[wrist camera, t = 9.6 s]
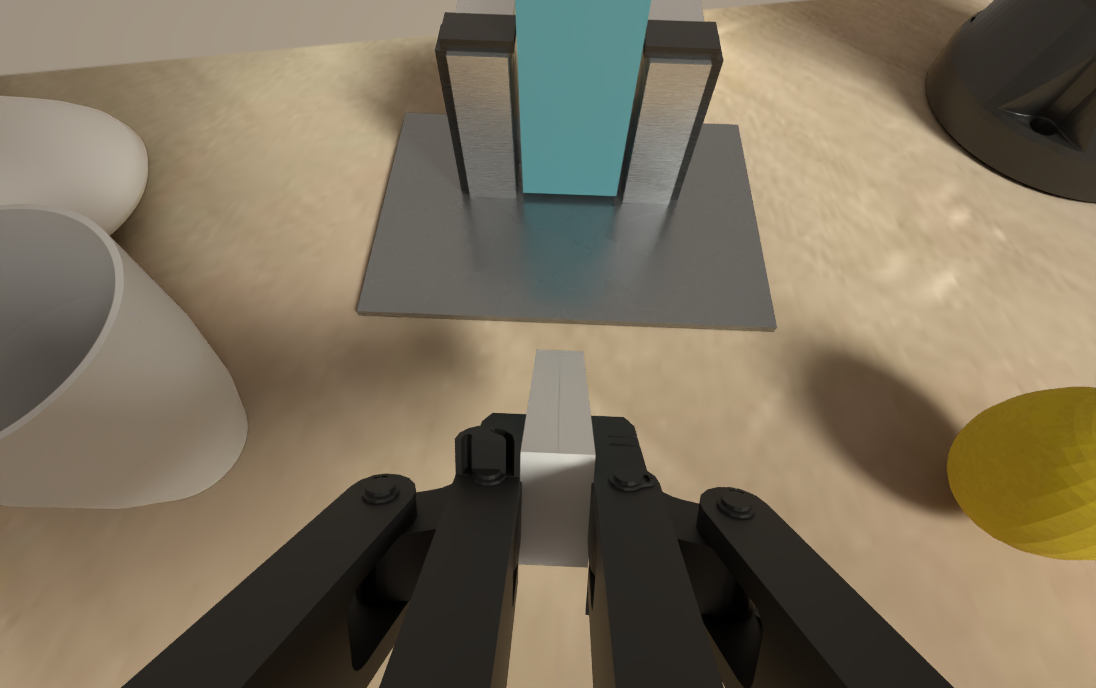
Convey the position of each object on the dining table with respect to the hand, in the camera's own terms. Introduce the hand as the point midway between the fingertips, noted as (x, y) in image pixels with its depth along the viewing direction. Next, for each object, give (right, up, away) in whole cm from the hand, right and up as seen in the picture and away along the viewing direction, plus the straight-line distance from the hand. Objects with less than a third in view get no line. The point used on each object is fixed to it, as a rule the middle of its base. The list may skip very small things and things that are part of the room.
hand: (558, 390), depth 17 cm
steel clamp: (+1, +9, +11) cm, 14 cm away
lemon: (+17, -5, +5) cm, 18 cm away
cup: (-16, -3, +5) cm, 17 cm away
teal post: (+1, +12, +13) cm, 18 cm away
